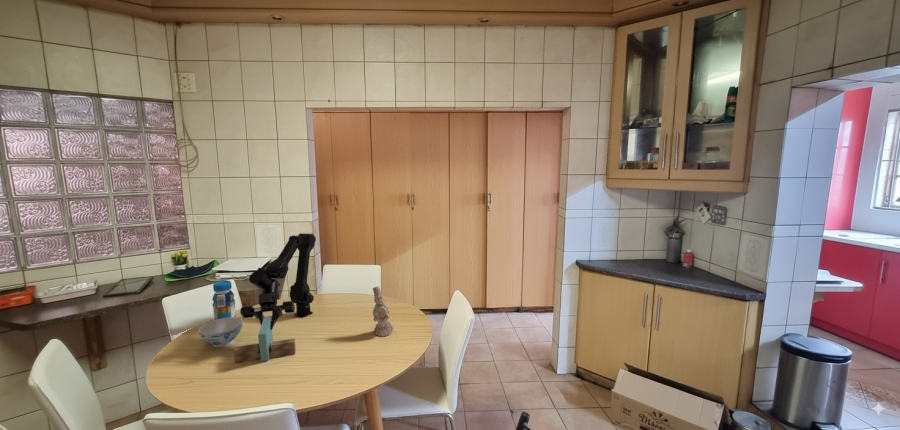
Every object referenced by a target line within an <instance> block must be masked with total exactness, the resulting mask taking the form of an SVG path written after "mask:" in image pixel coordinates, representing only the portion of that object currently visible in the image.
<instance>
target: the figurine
mask: <svg viewBox="0 0 900 430" xmlns="http://www.w3.org/2000/svg"><path fill="white" fill-rule="evenodd" d="M372 291H373V295H374V299H373V301H374V303H375V305H374V307H373V309H372V316H373V321H374V322H377V323H376V324H375V327H374V329H373V331H375V335H377V336H379V337H386V336H389V335H390V334H391V333H392V332H393V330H394V325H392V323H391V321H390V317H391V316H390V309H389V308H390V307H388V305H387V302H385V295H383V293H382V291H381V288H380V287H379V285H378V286H375V287H373V288H372Z"/></svg>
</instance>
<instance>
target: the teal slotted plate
mask: <svg viewBox="0 0 900 430" xmlns="http://www.w3.org/2000/svg"><path fill="white" fill-rule="evenodd" d="M271 319H272V316H266V317H265V316H264V319H263V322H262V325H261V324H260V328H259V330H258V334H257V337H258V344H259V348H260V357H261V360H260V361H261V362H267V361H269V360H270V358H269V348H271V345H272V342H273V341H274V335H273V329H272V330H270V325H271Z"/></svg>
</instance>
